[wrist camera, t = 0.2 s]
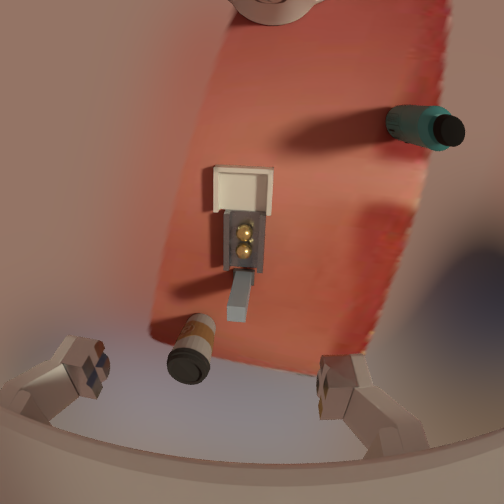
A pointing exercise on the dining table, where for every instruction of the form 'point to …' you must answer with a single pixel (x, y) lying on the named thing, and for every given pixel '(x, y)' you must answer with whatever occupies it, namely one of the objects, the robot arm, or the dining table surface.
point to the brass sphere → (243, 250)
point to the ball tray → (242, 188)
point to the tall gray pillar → (240, 294)
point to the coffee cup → (192, 350)
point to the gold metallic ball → (244, 232)
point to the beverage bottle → (425, 126)
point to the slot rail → (256, 242)
